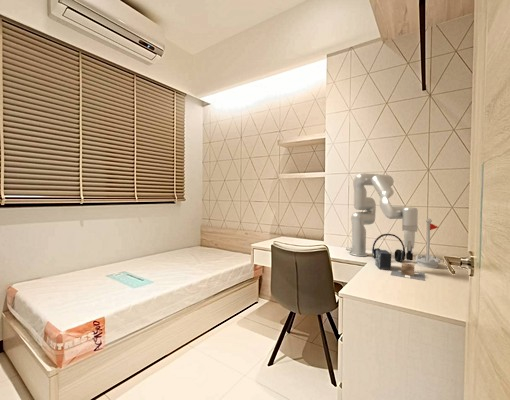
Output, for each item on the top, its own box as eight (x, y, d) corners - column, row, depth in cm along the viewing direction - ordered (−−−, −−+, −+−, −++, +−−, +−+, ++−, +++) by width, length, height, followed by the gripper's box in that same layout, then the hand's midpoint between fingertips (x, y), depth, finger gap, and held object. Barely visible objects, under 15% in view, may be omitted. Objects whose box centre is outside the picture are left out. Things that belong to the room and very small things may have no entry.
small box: (391, 271, 146) (392, 253, 146) (379, 270, 148) (380, 253, 147) (386, 266, 157) (386, 249, 156) (374, 265, 158) (375, 249, 158)
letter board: (390, 276, 138) (390, 275, 138) (392, 269, 151) (392, 267, 151) (425, 282, 129) (425, 281, 129) (424, 273, 143) (424, 272, 143)
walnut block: (401, 274, 139) (401, 265, 139) (401, 271, 144) (402, 262, 144) (414, 276, 136) (414, 267, 136) (414, 273, 141) (414, 264, 141)
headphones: (374, 261, 168) (374, 234, 168) (371, 258, 175) (371, 232, 175) (406, 263, 165) (407, 235, 165) (401, 260, 172) (402, 233, 171)
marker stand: (415, 266, 158) (416, 218, 157) (415, 261, 169) (416, 217, 168) (440, 269, 151) (442, 220, 150) (439, 264, 162) (441, 218, 161)
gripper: (402, 226, 155) (402, 256, 155) (401, 229, 142) (401, 261, 142) (417, 227, 151) (417, 258, 151) (417, 230, 138) (417, 263, 138)
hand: (409, 259), depth 146 cm, fingers closed
